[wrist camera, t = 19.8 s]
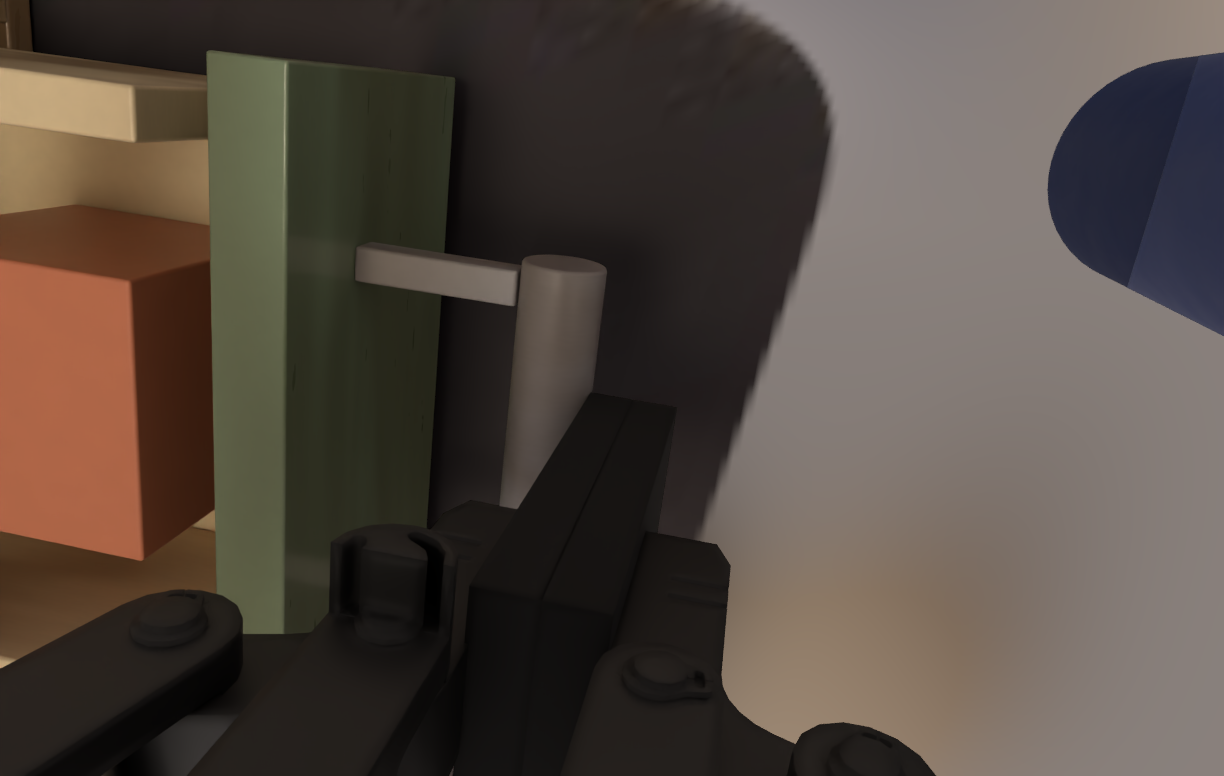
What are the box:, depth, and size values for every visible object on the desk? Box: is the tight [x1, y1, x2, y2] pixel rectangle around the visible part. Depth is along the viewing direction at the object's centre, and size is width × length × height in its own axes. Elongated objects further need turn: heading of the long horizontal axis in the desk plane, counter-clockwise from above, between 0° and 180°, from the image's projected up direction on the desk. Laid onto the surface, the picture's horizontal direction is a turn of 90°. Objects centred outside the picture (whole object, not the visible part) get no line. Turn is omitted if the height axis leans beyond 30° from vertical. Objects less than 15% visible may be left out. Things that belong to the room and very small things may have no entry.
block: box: [0, 204, 215, 561], centre depth 17 cm, size 5×5×5 cm
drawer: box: [0, 48, 607, 668], centre depth 17 cm, size 17×12×7 cm
